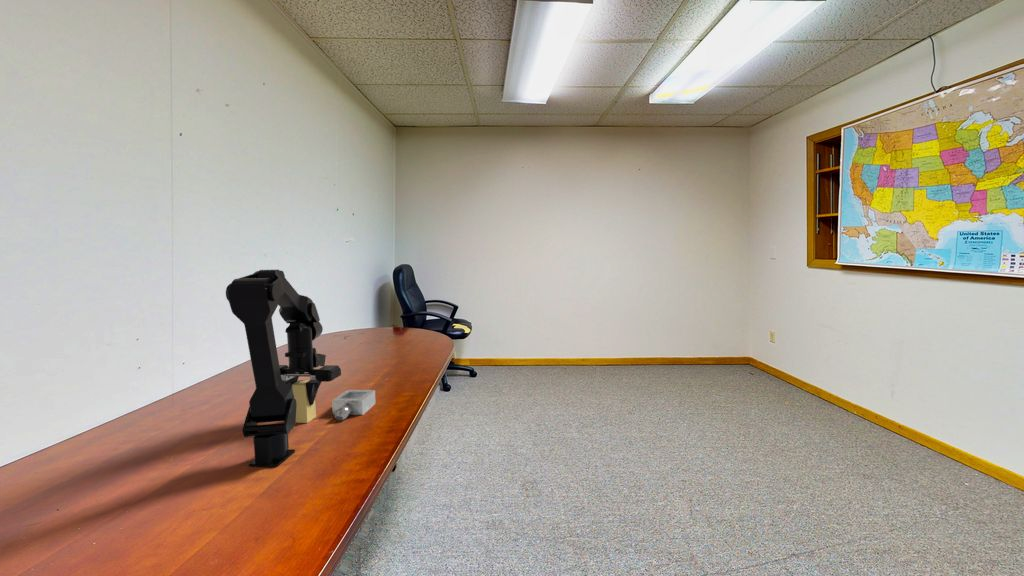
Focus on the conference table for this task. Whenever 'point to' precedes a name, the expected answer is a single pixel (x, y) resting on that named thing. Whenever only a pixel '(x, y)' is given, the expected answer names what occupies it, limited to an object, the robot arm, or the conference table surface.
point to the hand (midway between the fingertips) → (303, 404)
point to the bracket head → (353, 403)
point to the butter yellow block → (303, 403)
